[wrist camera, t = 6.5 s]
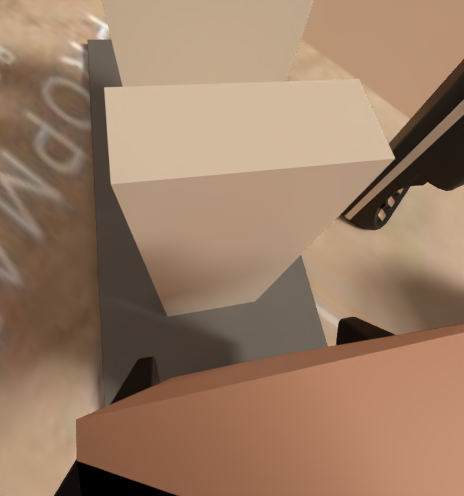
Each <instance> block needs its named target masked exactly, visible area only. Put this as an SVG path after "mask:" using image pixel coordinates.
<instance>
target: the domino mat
mask: <svg viewBox="0 0 464 496" xmlns="http://www.w3.org/2000/svg"><path fill="white" fill-rule="evenodd" d="M88 60H89V82H90V103H91V124H92V145H93V167H94V188H95V209H96V230H97V252H98V273H99V294H100V315H101V336H102V358H103V379H104V400H105V407H107V406H109V405H110V403H111V402H112V400H113V399H114V397H115V395H116V394H117V392H118V390H119V389H120V387H121V385H122V384H123V382H124V381H125V379H126V377H127V376H128V374H129V372H130V371H131V369H132V367H133V366H134V364H135V363H136V361H137V360H138V359H140V358H145V357H150V356H154V357H155V359H156V363H157V369H158V374H159V379H160V383H161V382H164V381H166V380H168V379H170V378H173V377H177V376H182V375H186V374H191V373H196V372H200V371H205V370H210V369H215V368H219V367H224V366H229V365H233V364H238V363H243V362H248V361H252V360H257V359H262V358H266V357H271V356H276V355H282V354H288V353H294V352H300V351H306V350H312V349H318V348H323V347H328V346H327V343H326V339H325V336H324V332H323V329H322V326H321V322H320V319H319V315H318V312H317V308H316V305H315V301H314V298H313V295H312V291H311V288H310V284H309V281H308V277H307V274H306V270H305V267H304V264H303V260H302V257H301V255H300V256H299V257H298V258H297V259H296V260H295V261H294V262H293V263H292V264H291V265H290V266H289V267H288V268H287V269H286V270H285V271H284V272H283V273H282V275H281V276H280V277H279V278H278V279H277V280H276V281H275V282H274V283H273V284H272V285H271V286H270V287H269V288H268V289H267V290H266V291H265V292H264V293H263V294H262V295H261V296H260V297H259V298H258V299H257V300H256V301H255V302H249V303H243V304H238V305H232V306H226V307H221V308H215V309H209V310H203V311H198V312H192V313H186V314H181V315H175V316H169V317H168V316H167V314H166V312H165V310H164V307H163V305H162V303H161V300H160V298H159V296H158V293H157V291H156V289H155V286H154V284H153V282H152V279H151V277H150V275H149V272H148V270H147V268H146V265H145V263H144V261H143V258H142V256H141V254H140V251H139V249H138V247H137V244H136V242H135V240H134V237H133V235H132V233H131V230H130V228H129V226H128V223H127V221H126V219H125V216H124V214H123V212H122V209H121V207H120V205H119V202H118V200H117V198H116V195H115V193H114V191H113V188H112V186H111V180H110V165H109V151H108V136H107V122H106V107H105V92H104V87H123V86H122V82H121V78H120V74H119V69H118V65H117V61H116V57H115V53H114V48H113V44H112V40H88Z"/></svg>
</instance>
